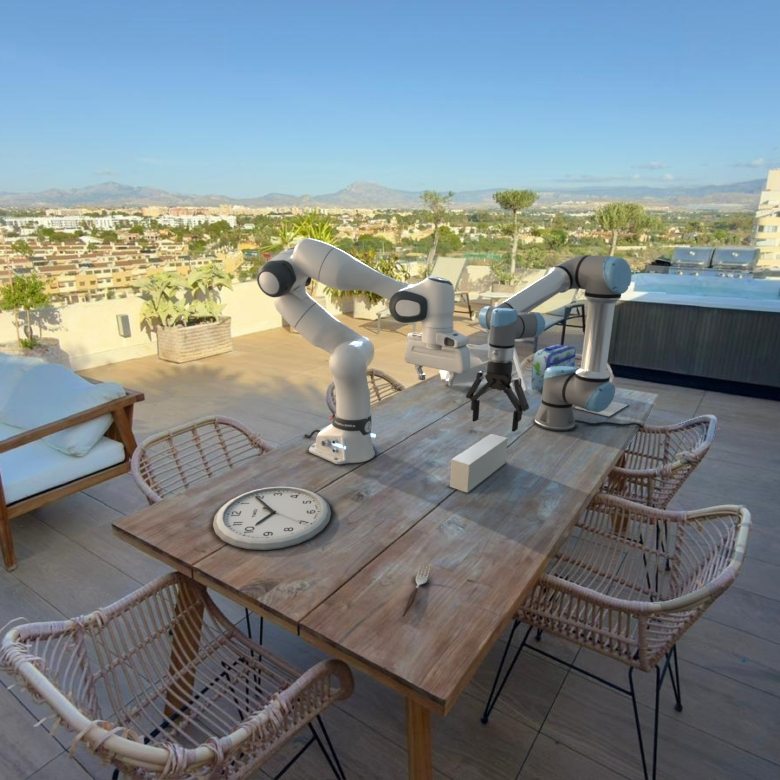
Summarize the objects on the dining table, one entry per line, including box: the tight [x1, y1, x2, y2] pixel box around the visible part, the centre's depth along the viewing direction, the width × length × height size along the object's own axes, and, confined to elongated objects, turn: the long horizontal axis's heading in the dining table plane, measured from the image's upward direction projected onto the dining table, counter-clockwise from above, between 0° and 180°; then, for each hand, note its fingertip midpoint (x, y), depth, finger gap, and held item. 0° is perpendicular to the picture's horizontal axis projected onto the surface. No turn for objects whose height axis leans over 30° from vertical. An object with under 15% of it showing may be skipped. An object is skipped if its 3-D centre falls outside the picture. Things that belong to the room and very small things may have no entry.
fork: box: [402, 562, 432, 618], centre depth 108 cm, size 3×16×2 cm, turn 160°
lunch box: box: [530, 344, 577, 392], centre depth 247 cm, size 26×11×21 cm, turn 134°
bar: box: [449, 433, 508, 494], centre depth 161 cm, size 26×6×9 cm, turn 143°
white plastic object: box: [438, 342, 531, 398], centre depth 245 cm, size 37×45×31 cm
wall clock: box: [212, 486, 332, 551], centre depth 136 cm, size 30×2×30 cm
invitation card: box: [573, 400, 629, 418], centre depth 226 cm, size 21×1×15 cm
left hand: (435, 382), depth 152 cm, fingers open, 8 cm apart
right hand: (494, 425), depth 165 cm, fingers open, 13 cm apart
